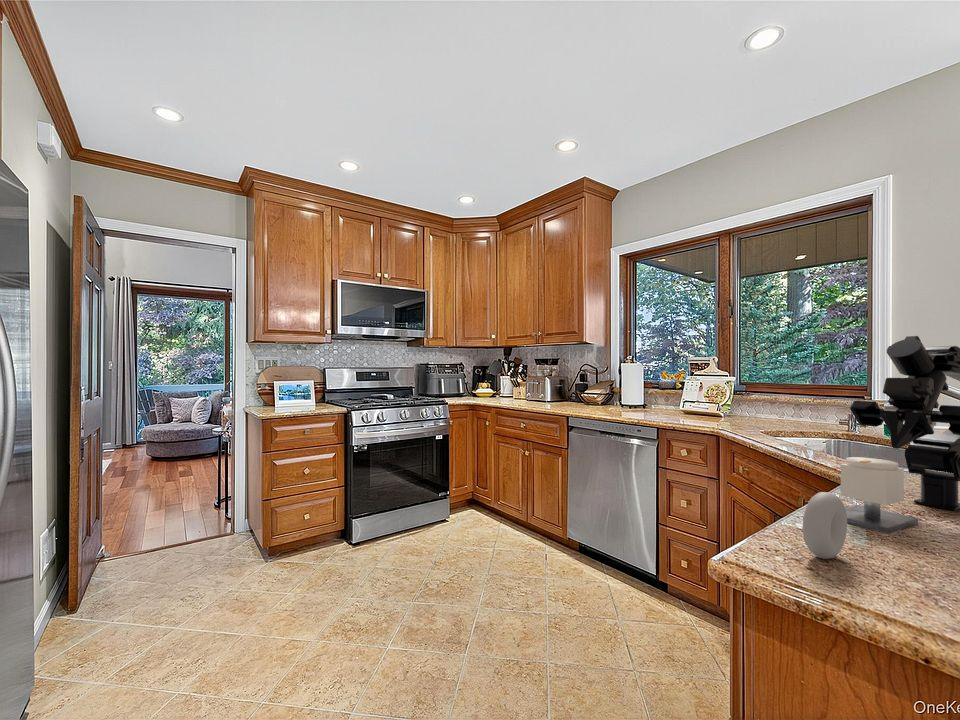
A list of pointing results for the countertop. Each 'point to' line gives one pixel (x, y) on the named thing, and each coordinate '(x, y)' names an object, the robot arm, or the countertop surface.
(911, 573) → the countertop surface
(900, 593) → the countertop surface
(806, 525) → the donut
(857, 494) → the knob
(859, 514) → the plate
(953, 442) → the robot arm
